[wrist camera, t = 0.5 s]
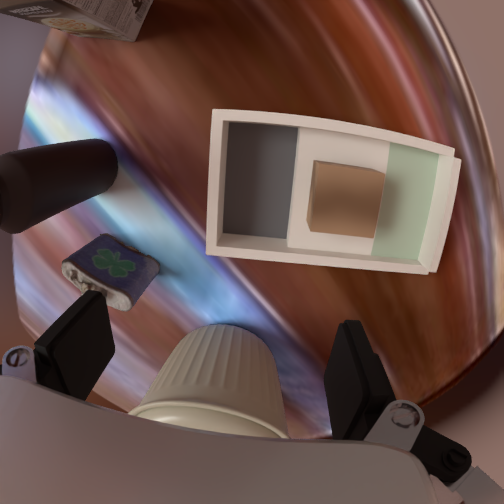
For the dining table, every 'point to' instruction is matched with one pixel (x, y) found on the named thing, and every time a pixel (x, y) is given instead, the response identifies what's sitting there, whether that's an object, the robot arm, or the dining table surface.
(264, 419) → the canister
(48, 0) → the coffee box
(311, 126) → the box
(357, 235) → the walnut block
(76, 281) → the flask
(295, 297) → the dining table surface
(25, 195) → the bottle
